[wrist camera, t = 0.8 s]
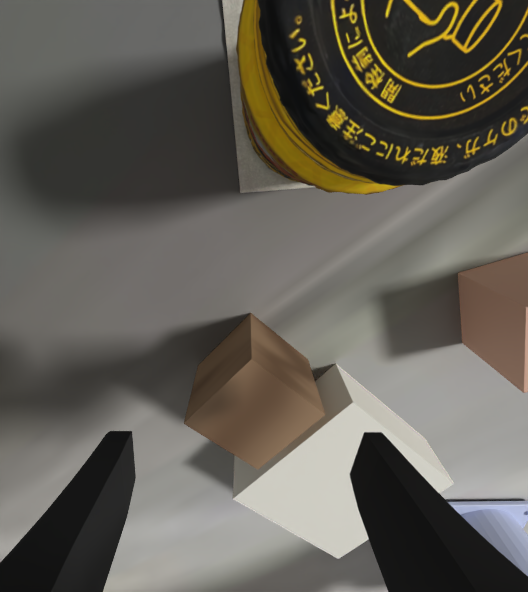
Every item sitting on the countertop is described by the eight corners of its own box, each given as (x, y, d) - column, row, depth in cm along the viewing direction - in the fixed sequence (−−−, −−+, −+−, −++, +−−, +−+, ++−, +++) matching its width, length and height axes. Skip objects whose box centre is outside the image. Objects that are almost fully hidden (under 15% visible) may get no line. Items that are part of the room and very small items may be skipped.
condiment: (240, 193, 16) (225, 247, 5) (220, -20, 13) (77, -1014, 2) (379, 182, 17) (649, 213, 5) (393, -31, 13) (1123, -1019, 2)
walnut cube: (307, 358, 21) (325, 414, 16) (255, 405, 22) (257, 469, 17) (250, 312, 19) (251, 359, 14) (198, 365, 20) (183, 423, 16)
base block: (422, 434, 24) (454, 483, 20) (325, 504, 26) (338, 559, 23) (334, 360, 21) (353, 402, 17) (234, 446, 23) (232, 499, 20)
